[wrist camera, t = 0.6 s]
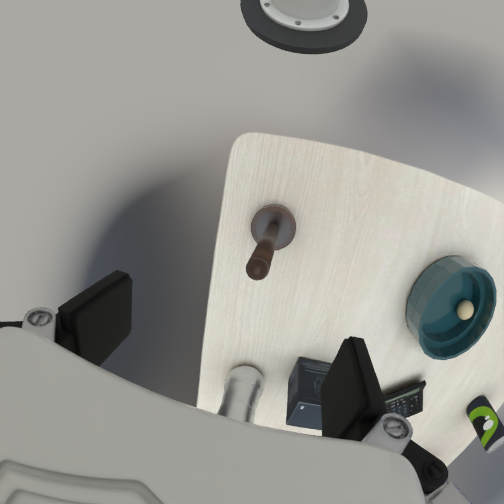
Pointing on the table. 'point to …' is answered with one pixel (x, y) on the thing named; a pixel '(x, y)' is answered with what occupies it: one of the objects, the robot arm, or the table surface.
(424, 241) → the table surface
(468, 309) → the ball
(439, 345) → the bowl
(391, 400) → the calculator
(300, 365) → the box
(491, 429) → the beverage can
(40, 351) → the robot arm
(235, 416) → the plastic bottle
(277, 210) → the brown plunger
